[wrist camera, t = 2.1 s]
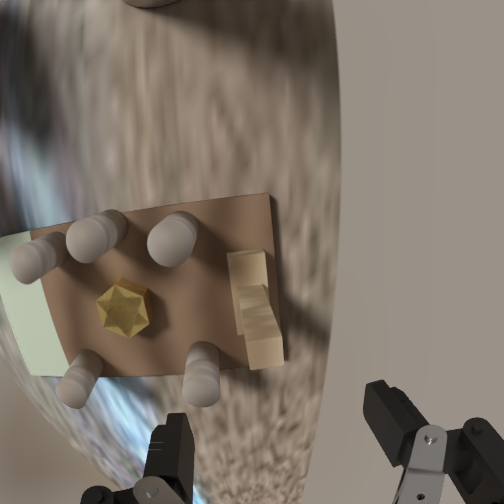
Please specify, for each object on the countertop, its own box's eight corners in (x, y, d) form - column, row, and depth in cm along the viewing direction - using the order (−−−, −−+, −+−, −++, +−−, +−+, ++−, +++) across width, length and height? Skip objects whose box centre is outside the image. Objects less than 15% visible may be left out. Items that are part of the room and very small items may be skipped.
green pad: (34, 229, 25) (29, 231, 24) (76, 371, 29) (73, 376, 28) (-8, 238, 25) (-13, 240, 24) (34, 370, 28) (31, 374, 28)
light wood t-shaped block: (262, 248, 27) (288, 293, 16) (269, 322, 28) (294, 394, 18) (226, 252, 26) (231, 301, 16) (236, 327, 28) (246, 402, 18)
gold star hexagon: (131, 268, 26) (125, 275, 24) (163, 306, 27) (159, 316, 25) (94, 300, 26) (87, 308, 24) (125, 335, 27) (120, 345, 25)
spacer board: (266, 187, 26) (282, 191, 20) (281, 355, 30) (296, 399, 24) (33, 224, 25) (-9, 239, 18) (76, 371, 29) (53, 410, 22)
